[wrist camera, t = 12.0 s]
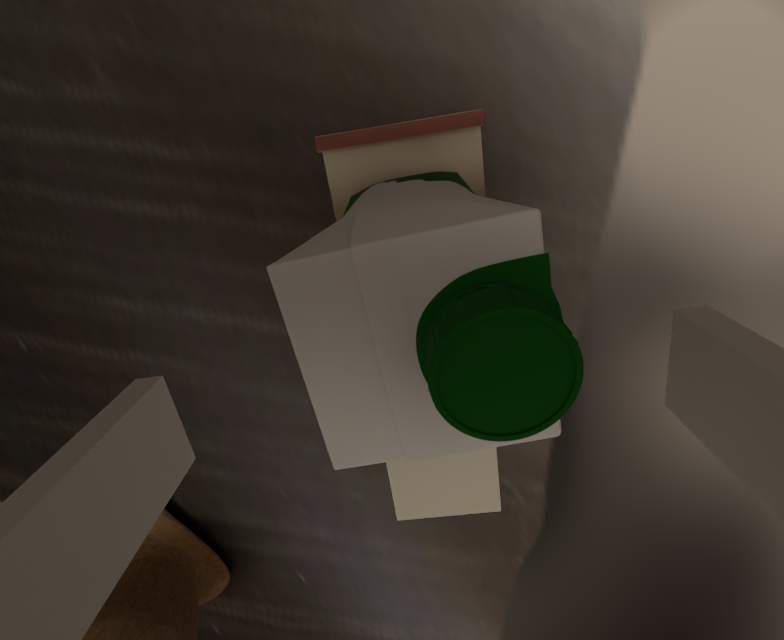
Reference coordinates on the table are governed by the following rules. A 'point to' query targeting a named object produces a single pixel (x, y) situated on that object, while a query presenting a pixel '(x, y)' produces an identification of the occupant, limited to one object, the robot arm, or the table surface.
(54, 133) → the table surface
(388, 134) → the shelf board
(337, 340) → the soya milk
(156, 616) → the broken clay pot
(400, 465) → the tea tin
